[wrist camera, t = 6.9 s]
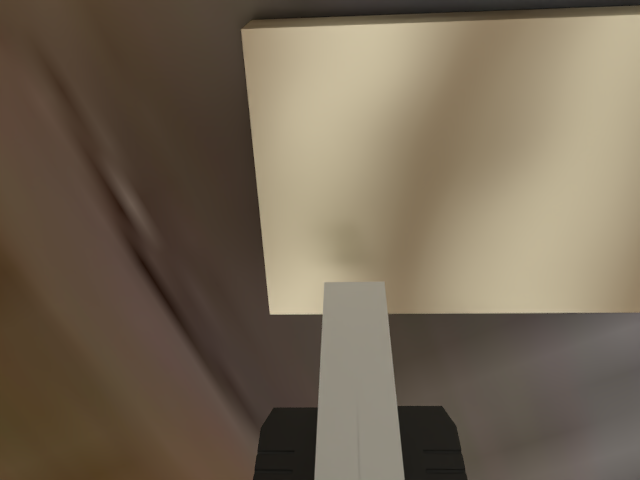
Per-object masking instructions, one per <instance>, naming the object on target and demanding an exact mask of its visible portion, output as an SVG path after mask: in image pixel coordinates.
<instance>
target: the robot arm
mask: <svg viewBox="0 0 640 480" xmlns="http://www.w3.org/2000/svg"><path fill="white" fill-rule="evenodd" d="M253 480H467V475H466V473H465V466H464V461H463V456H462V454H461V446H460V442H459V437H458V432H457V427H456V425H455V424H454V422H453V421H452V420H451V418H450V417H449V415H448V414H447V412H446V411H445V410H444V408H443V407H442V406H397V400H396V390H395V380H394V370H393V360H392V351H391V341H390V331H389V321H388V311H387V302H386V292H385V282H324V300H323V319H322V339H321V359H320V379H319V398H318V408H273V410H272V411H271V413H270V414H269V416H268V418H267V419H266V421H265V422H264V424H263V425H262V427H261V431H260V438H259V444H258V454H257V457H256V464H255V474H254V477H253Z"/></svg>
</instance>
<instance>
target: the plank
mask: <svg viewBox="0 0 640 480" xmlns="http://www.w3.org/2000/svg"><path fill="white" fill-rule="evenodd" d="M241 34H242V43H243V53H244V63H245V73H246V83H247V93H248V103H249V112H250V122H251V132H252V142H253V152H254V162H255V172H256V181H257V191H258V201H259V211H260V221H261V231H262V241H263V251H264V260H265V270H266V280H267V290H268V300H269V310H270V314H323V300H324V282H385V292H386V302H387V311H388V314H450V313H632V312H640V5H639V6H612V7H585V8H558V9H532V10H505V11H478V12H451V13H424V14H398V15H371V16H344V17H317V18H290V19H263V20H251V21H250V22H249V23H248V24H247V25H245V26H244V27H243V28H242V29H241Z"/></svg>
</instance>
